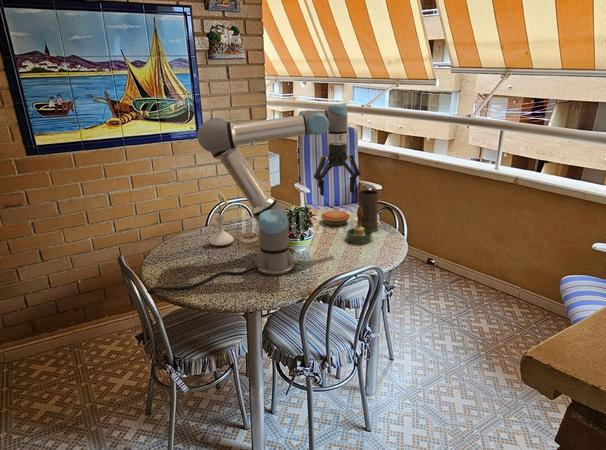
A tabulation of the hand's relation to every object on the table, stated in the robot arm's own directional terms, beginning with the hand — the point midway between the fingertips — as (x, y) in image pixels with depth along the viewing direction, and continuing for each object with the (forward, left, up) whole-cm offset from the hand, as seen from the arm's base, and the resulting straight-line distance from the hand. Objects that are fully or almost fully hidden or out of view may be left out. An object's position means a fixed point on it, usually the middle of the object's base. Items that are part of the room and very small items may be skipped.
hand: (337, 193), depth 175 cm
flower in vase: (-48, +27, -27) cm, 61 cm away
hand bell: (+15, +9, -26) cm, 32 cm away
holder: (+15, +9, -27) cm, 32 cm away
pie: (+14, +37, -24) cm, 46 cm away
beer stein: (+26, +24, -27) cm, 44 cm away
